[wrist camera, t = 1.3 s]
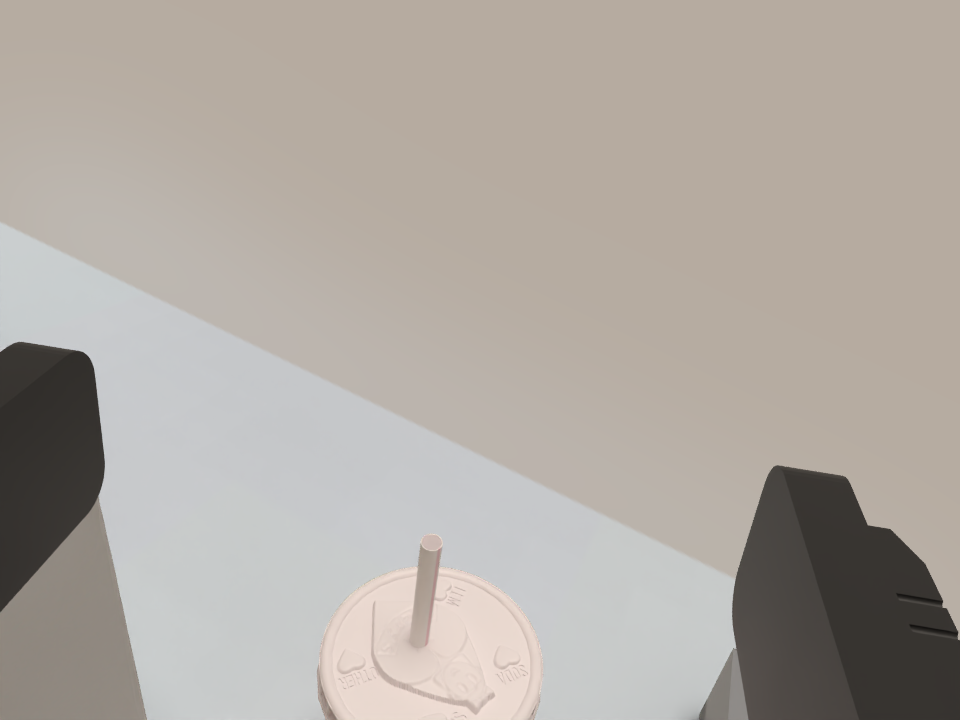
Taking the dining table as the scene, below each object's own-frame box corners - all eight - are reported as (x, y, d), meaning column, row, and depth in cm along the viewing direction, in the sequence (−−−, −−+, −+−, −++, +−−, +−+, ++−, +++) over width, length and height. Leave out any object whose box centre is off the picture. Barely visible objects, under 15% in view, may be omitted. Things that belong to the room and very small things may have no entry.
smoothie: (411, 693, 34) (444, 430, 25) (537, 813, 31) (624, 561, 22) (277, 813, 30) (262, 549, 21) (408, 965, 27) (452, 728, 18)
